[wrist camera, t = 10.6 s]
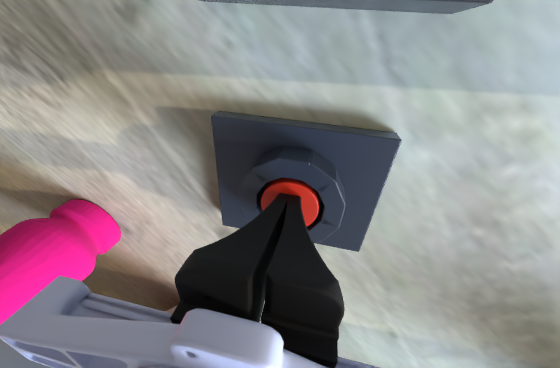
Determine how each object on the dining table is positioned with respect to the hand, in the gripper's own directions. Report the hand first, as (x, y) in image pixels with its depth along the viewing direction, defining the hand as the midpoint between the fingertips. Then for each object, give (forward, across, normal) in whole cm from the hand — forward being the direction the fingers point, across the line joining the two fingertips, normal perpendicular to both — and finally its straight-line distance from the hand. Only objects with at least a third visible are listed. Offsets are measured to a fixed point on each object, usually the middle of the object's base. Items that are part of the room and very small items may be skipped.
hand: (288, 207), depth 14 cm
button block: (+3, 0, 0) cm, 3 cm away
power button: (+2, 0, 0) cm, 2 cm away
